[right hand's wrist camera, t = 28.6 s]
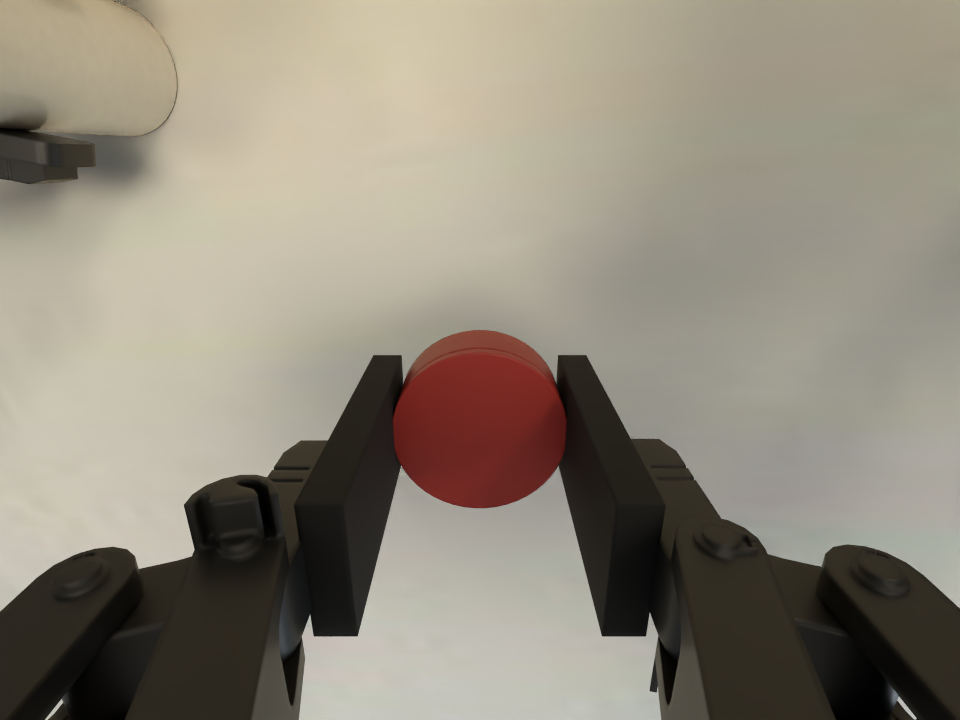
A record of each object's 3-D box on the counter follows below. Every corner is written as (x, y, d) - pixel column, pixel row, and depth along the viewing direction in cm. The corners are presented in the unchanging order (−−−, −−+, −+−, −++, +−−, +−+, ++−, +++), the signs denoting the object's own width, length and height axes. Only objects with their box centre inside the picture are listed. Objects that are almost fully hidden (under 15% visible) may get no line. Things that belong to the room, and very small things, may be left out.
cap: (568, 456, 15) (579, 493, 13) (422, 481, 15) (415, 521, 14) (544, 314, 14) (553, 336, 12) (383, 346, 14) (370, 372, 12)
